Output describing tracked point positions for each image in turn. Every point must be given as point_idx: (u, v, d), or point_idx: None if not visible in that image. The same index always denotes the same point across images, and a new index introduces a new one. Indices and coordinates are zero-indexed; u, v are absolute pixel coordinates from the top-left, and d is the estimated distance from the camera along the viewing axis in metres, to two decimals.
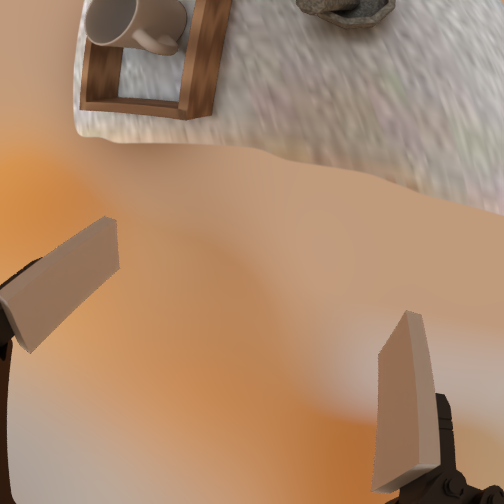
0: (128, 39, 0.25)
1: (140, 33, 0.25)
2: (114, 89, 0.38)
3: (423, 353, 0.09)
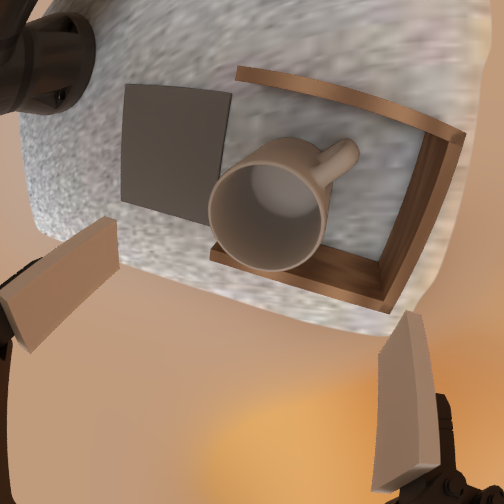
0: (324, 195, 0.20)
1: (321, 171, 0.20)
2: (368, 263, 0.31)
3: (423, 353, 0.09)
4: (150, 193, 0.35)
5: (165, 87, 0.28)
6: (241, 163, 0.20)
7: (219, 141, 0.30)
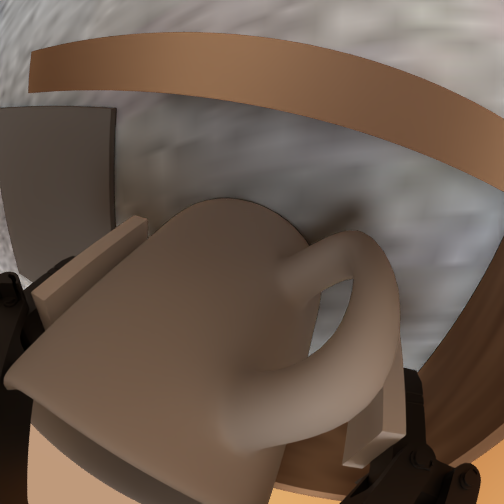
0: (264, 463, 0.06)
1: (248, 427, 0.05)
2: None
3: None
4: (43, 271, 0.20)
5: (30, 108, 0.14)
6: (14, 374, 0.05)
7: (104, 203, 0.15)
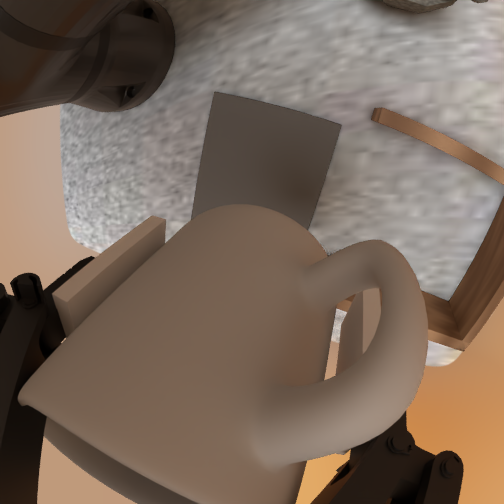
0: (292, 475, 0.05)
1: (283, 444, 0.05)
2: (441, 302, 0.30)
3: (375, 316, 0.10)
4: None
5: (266, 104, 0.27)
6: (32, 393, 0.05)
7: (322, 173, 0.29)
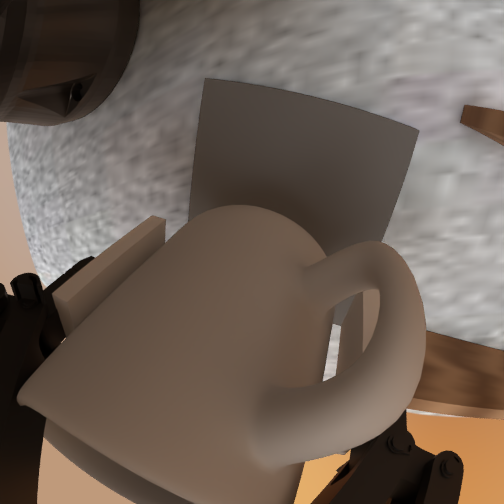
0: (290, 476, 0.05)
1: (280, 445, 0.05)
2: None
3: (375, 316, 0.10)
4: None
5: (294, 94, 0.16)
6: (30, 394, 0.05)
7: (387, 207, 0.17)
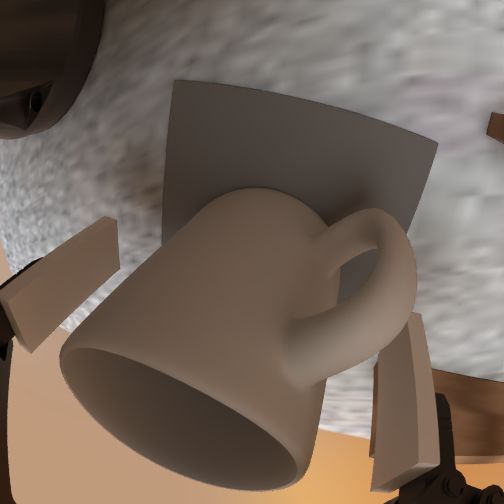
0: (313, 401, 0.07)
1: (307, 357, 0.06)
2: None
3: (423, 352, 0.09)
4: None
5: (282, 97, 0.12)
6: (84, 334, 0.06)
7: None
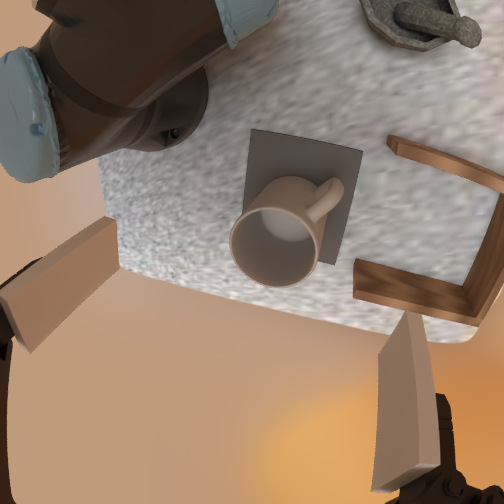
0: (317, 227, 0.27)
1: (313, 210, 0.27)
2: (456, 287, 0.34)
3: (423, 353, 0.09)
4: None
5: (298, 138, 0.33)
6: (252, 209, 0.27)
7: (350, 193, 0.34)
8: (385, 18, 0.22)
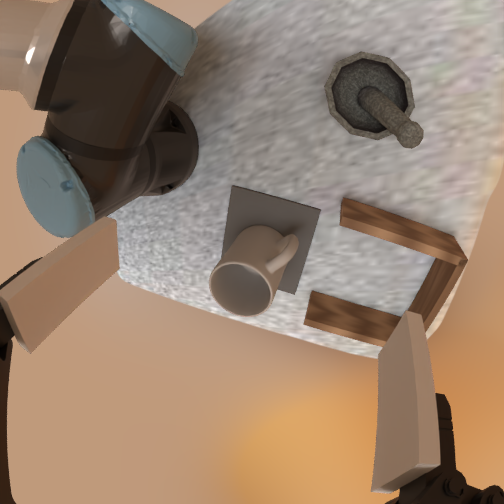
0: (273, 277, 0.37)
1: (270, 264, 0.37)
2: (397, 319, 0.45)
3: (423, 353, 0.09)
4: None
5: (269, 196, 0.43)
6: (226, 262, 0.37)
7: (308, 241, 0.44)
8: (350, 99, 0.32)
